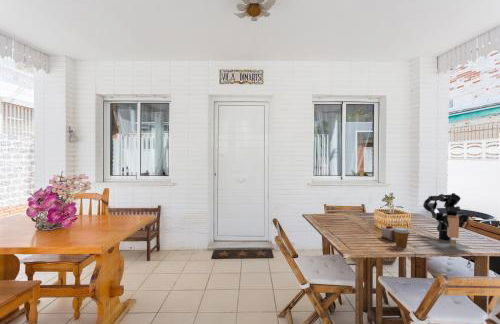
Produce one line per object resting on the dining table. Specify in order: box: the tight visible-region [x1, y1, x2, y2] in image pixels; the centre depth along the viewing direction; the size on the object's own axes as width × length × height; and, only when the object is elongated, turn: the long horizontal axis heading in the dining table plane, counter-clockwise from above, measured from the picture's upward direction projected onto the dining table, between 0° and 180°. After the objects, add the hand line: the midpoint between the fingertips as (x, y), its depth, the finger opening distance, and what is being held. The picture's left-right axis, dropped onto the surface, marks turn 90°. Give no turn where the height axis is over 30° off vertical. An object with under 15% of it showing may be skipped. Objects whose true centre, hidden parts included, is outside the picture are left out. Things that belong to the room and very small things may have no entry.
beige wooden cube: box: [449, 238, 457, 246], centre depth 200 cm, size 3×3×4 cm
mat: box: [424, 240, 472, 250], centre depth 202 cm, size 22×17×1 cm
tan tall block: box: [447, 215, 460, 239], centre depth 200 cm, size 6×6×14 cm
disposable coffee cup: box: [393, 226, 410, 248], centre depth 201 cm, size 10×10×12 cm
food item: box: [380, 225, 396, 242], centre depth 219 cm, size 14×8×10 cm, turn 12°
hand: (453, 227), depth 199 cm, fingers closed on tan tall block, 6 cm apart
